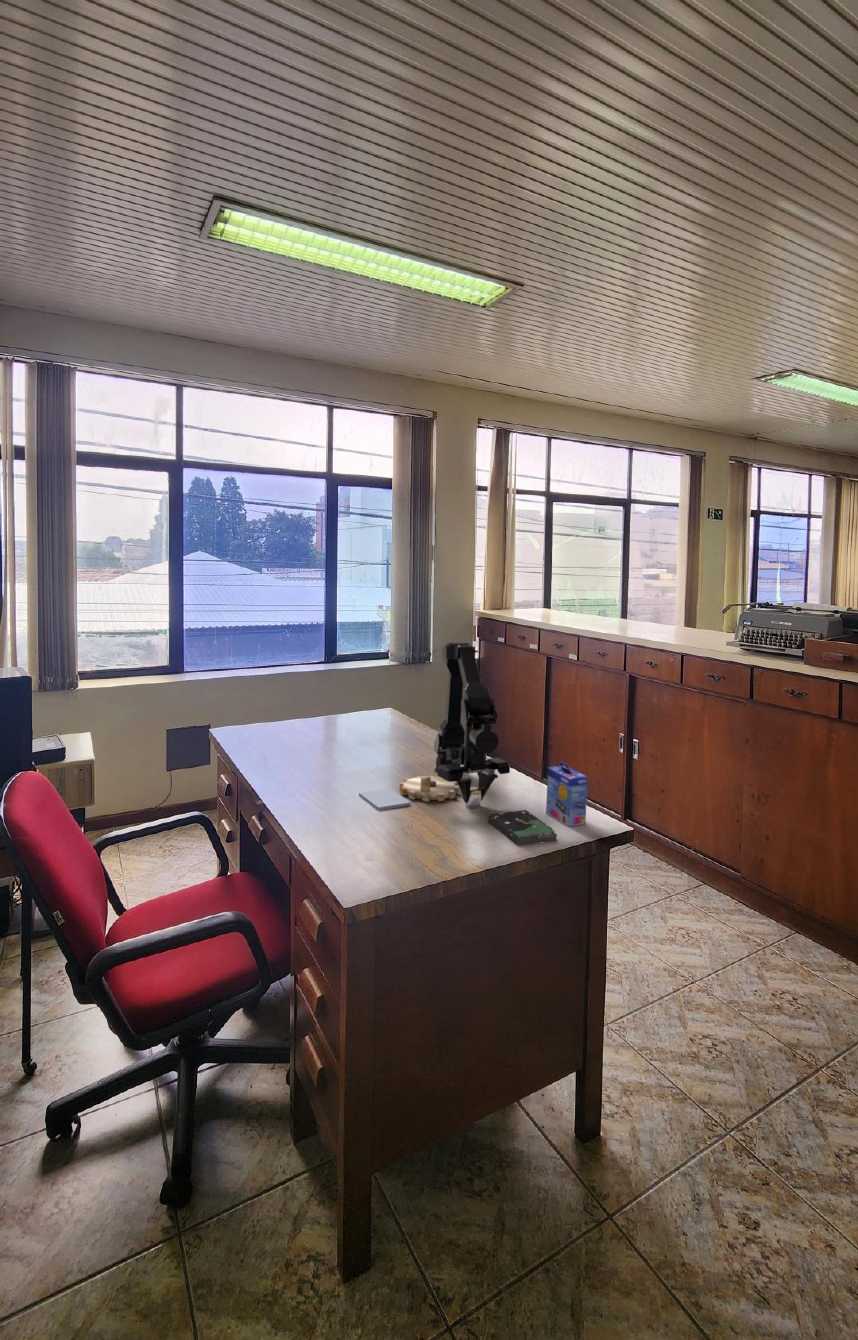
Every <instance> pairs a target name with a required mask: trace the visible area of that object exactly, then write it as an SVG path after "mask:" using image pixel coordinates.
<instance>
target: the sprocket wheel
mask: <svg viewBox="0 0 858 1340" xmlns="http://www.w3.org/2000/svg"><path fill="white" fill-rule="evenodd" d="M399 791H400V794H401V796H408V798H409V799H411V800H416V799H418V800H422V801H423V802H430V801H438V802H444V801H445V799H454V798H456V795H459V793H460V787H459V785H458V783H457V781H453V782H449V781H447V780H445V779H443V778H441V777H436V775H429V776H428V775H423V776H422V775H416V776H415V777H413V778H409V777H407V778H404V781H400V783H399Z"/></svg>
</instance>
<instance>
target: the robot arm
mask: <svg viewBox="0 0 858 1340" xmlns="http://www.w3.org/2000/svg"><path fill="white" fill-rule="evenodd" d="M441 655H442V656H441V657H442V659H443V664H444V665H445V668H446V670H447V671H448V672H447V686H446V687H447V688H446V689H447V690H446V703H445V716H444V719H443V721H442V723H441V724H440V725H438V726H439V727H438V733H436V736H435V739H434V742H433V746H434V747H433V750H434V752H435V754H437V757H436V759H435V768H434V772H437V776H438V778H443V779H445V780H447V781H449V782H453V781H455V782H457V786H459V791H460V793H461V796H462V799H463V803H464V804H465V803H468V800H469V794H470V788H471V787H472V786H471V785H472V781H473V779H470V778H469V774H474V773H477V776H478V786H477V787H478V788H481V790H482V792H481V802H482V801H483V799H484V797H485V795H486V794H487V792H488V790H489V789H490V787H491V785H492V784H493V783H494V781H495V779H497V778H499V775H498V774H500V775H504V774H506V775H507V774H510V773H511V772H510V771H511V765H510V763H509V761H508V760H507V761H506V760H505V759H502V758H500V757H491V758H487V754H491V753H493V752H494V751H495V750H496V749H497V748H498V746H499V737H498V735H497V733H496V732H495V731H493V730H492V725H491V724H495V725H496V724H497V719H498V713H497V708H496V704H495V702H494V698H493V697H492V696H491V693H490V691H489V689H488V688H487V687H486V686H484V685H483V683H482V680H481V676H480V671H479V667H478V663H477V660H476V646H473V645H470V643H469V642H446V644H444V646H442V649H441ZM462 717H463V718H462ZM462 719H463V721H464V724H465V725H464V726H463V725H462V723H461V721H462ZM496 771H497V772H498V774H496Z"/></svg>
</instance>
